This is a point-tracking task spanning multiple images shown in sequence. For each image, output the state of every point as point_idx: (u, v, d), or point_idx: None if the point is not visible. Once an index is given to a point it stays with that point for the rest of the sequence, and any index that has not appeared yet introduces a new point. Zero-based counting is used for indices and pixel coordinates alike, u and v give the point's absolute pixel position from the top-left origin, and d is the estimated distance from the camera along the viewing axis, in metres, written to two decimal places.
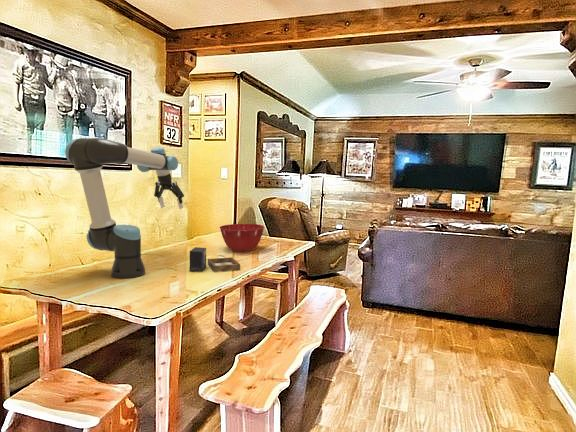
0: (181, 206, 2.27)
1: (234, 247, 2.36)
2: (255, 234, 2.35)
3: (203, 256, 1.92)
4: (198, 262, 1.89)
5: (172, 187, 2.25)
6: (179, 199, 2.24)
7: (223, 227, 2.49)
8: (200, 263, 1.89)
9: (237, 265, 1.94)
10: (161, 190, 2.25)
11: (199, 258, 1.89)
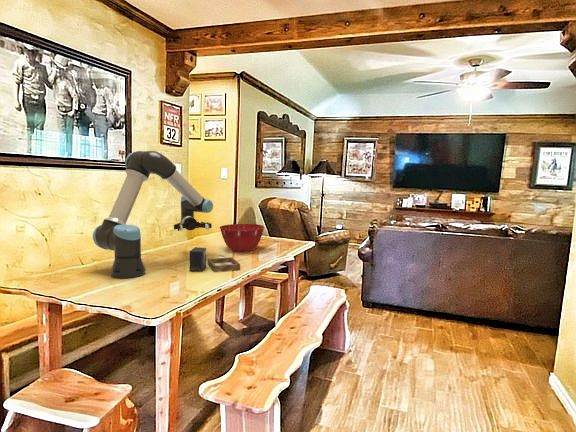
0: None
1: (234, 247, 2.36)
2: (255, 234, 2.35)
3: (203, 256, 1.92)
4: (198, 262, 1.89)
5: None
6: (207, 224, 2.10)
7: (223, 227, 2.49)
8: (200, 263, 1.89)
9: (237, 265, 1.94)
10: (185, 223, 2.11)
11: (199, 258, 1.89)
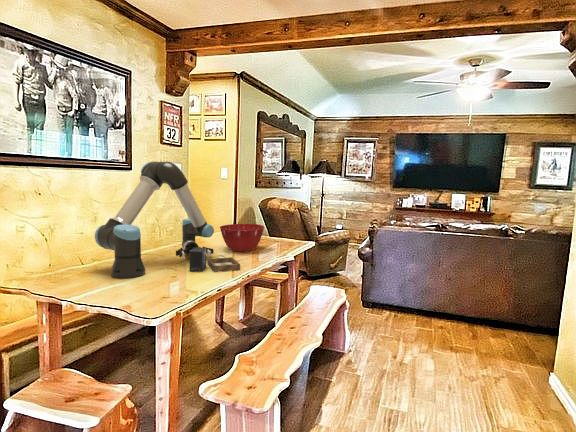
0: None
1: (234, 247, 2.36)
2: (255, 234, 2.35)
3: (203, 256, 1.92)
4: (198, 262, 1.89)
5: None
6: (209, 250, 2.09)
7: (223, 227, 2.49)
8: (200, 263, 1.89)
9: (237, 265, 1.94)
10: (187, 249, 2.10)
11: (199, 258, 1.89)
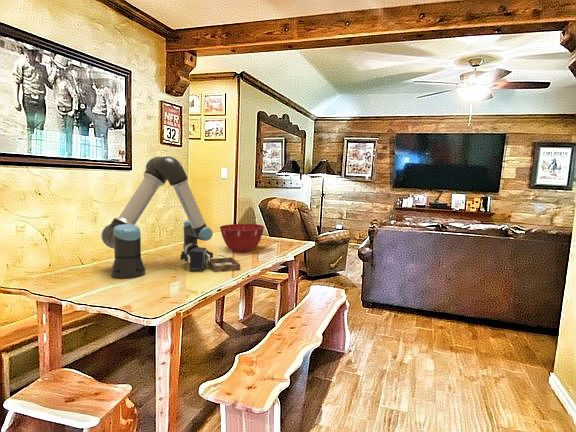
0: None
1: (234, 247, 2.36)
2: (255, 234, 2.35)
3: (203, 256, 1.92)
4: (198, 262, 1.89)
5: None
6: (208, 254, 1.98)
7: (223, 227, 2.49)
8: (200, 263, 1.90)
9: (237, 265, 1.94)
10: None
11: (199, 258, 1.89)
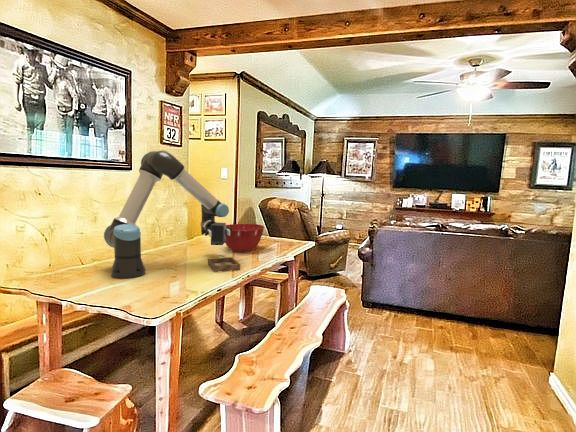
0: None
1: (234, 247, 2.36)
2: (255, 234, 2.35)
3: (224, 230, 1.95)
4: (219, 236, 1.92)
5: None
6: None
7: None
8: (221, 237, 1.93)
9: (237, 265, 1.94)
10: (210, 228, 2.03)
11: (220, 232, 1.92)
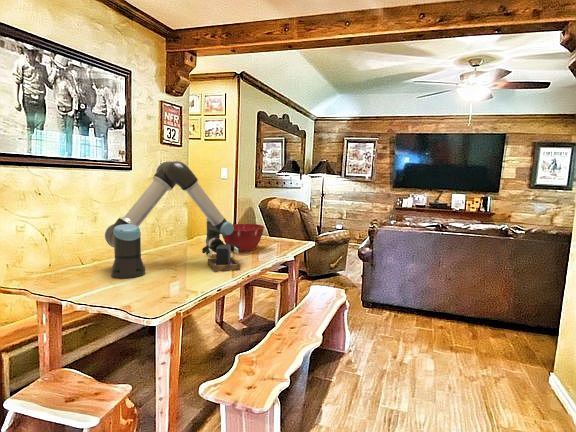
0: None
1: None
2: (255, 234, 2.35)
3: (229, 253, 1.97)
4: (224, 259, 1.94)
5: None
6: (236, 248, 2.04)
7: None
8: (226, 260, 1.94)
9: (237, 265, 1.94)
10: (213, 246, 2.05)
11: (225, 255, 1.94)
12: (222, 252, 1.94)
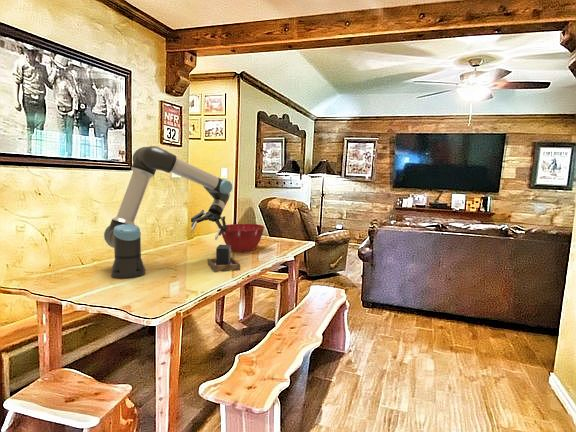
0: (217, 237, 2.05)
1: (234, 247, 2.36)
2: (255, 234, 2.35)
3: (229, 253, 1.97)
4: (225, 259, 1.94)
5: None
6: (221, 230, 2.08)
7: None
8: (226, 260, 1.94)
9: (237, 265, 1.94)
10: (205, 217, 2.11)
11: (225, 255, 1.94)
12: (222, 252, 1.94)
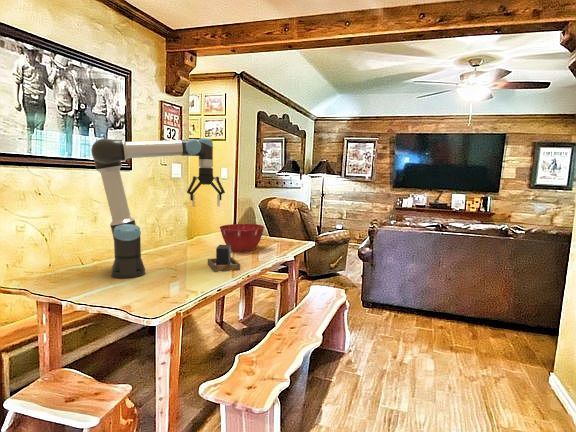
0: None
1: (234, 247, 2.36)
2: (255, 234, 2.35)
3: (229, 253, 1.97)
4: (225, 259, 1.94)
5: None
6: (220, 195, 2.11)
7: (223, 227, 2.48)
8: (226, 260, 1.94)
9: (237, 265, 1.94)
10: (199, 185, 2.05)
11: (225, 255, 1.94)
12: (222, 252, 1.94)
